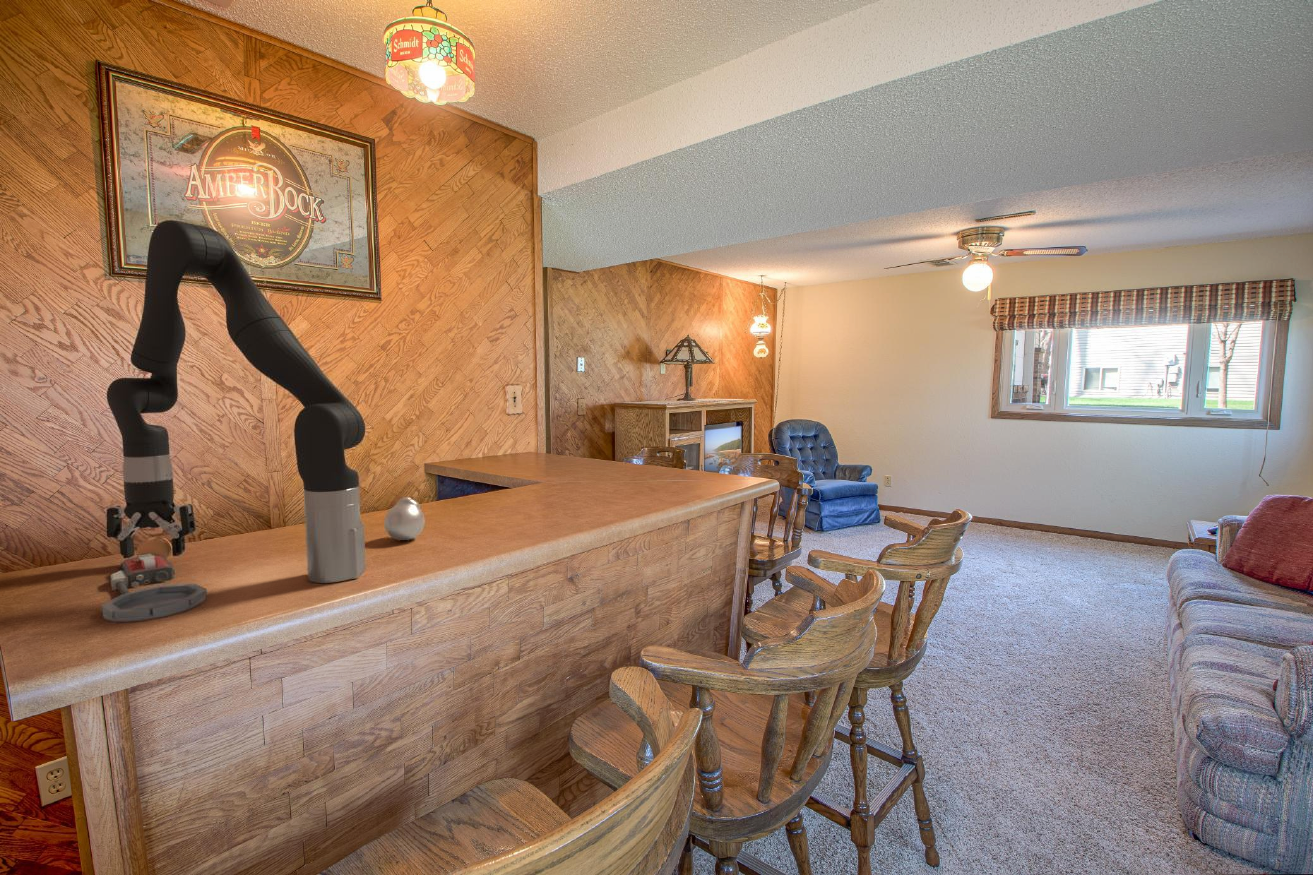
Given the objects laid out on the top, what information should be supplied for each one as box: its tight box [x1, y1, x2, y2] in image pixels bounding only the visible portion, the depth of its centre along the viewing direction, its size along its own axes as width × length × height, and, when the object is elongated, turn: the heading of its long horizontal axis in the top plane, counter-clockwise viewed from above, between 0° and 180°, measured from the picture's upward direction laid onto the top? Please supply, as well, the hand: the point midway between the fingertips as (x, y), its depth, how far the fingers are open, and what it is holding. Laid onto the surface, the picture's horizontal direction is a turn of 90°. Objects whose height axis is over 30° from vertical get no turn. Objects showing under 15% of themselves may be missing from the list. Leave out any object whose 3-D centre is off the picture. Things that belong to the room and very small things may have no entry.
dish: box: [101, 582, 208, 623], centre depth 97 cm, size 13×13×2 cm
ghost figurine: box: [383, 496, 426, 541], centre depth 139 cm, size 9×9×10 cm
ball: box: [136, 536, 172, 559], centre depth 119 cm, size 6×6×6 cm
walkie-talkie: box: [109, 554, 176, 595], centre depth 109 cm, size 9×4×20 cm
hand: (153, 556), depth 119 cm, fingers open, 8 cm apart
